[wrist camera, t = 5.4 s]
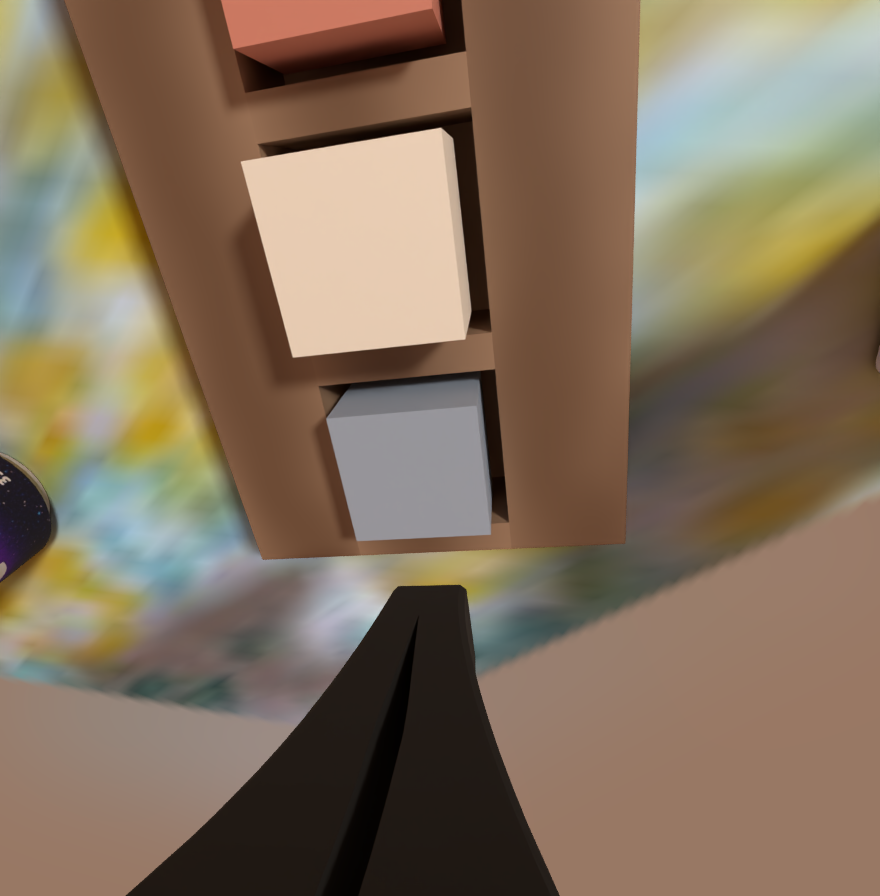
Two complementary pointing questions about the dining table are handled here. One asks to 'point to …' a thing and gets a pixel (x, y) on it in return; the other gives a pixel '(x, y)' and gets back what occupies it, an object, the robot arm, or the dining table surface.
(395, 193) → the ivory key
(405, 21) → the red key
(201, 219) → the brown slotted tray
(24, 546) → the beverage can
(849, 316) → the dining table surface
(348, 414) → the grey block
